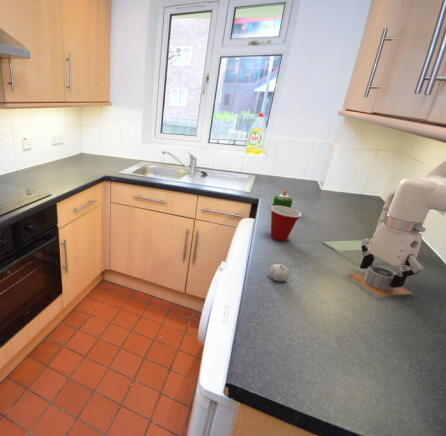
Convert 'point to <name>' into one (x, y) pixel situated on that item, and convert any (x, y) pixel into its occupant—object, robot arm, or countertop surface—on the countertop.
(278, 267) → the garlic
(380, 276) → the tape roll
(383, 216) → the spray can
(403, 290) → the stand
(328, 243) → the mat
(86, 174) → the countertop surface
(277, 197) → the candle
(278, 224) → the plastic cup
